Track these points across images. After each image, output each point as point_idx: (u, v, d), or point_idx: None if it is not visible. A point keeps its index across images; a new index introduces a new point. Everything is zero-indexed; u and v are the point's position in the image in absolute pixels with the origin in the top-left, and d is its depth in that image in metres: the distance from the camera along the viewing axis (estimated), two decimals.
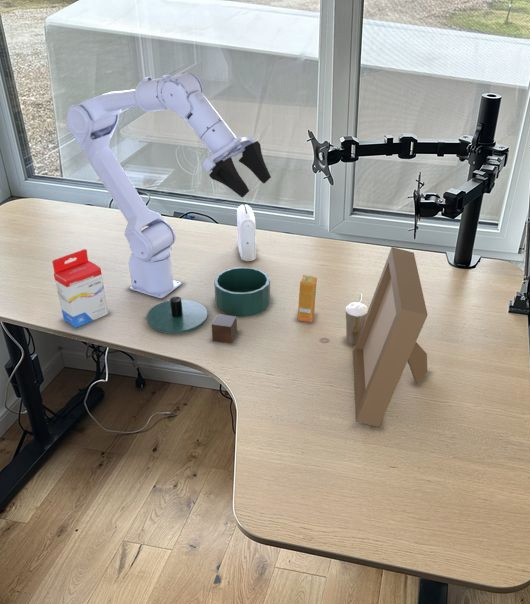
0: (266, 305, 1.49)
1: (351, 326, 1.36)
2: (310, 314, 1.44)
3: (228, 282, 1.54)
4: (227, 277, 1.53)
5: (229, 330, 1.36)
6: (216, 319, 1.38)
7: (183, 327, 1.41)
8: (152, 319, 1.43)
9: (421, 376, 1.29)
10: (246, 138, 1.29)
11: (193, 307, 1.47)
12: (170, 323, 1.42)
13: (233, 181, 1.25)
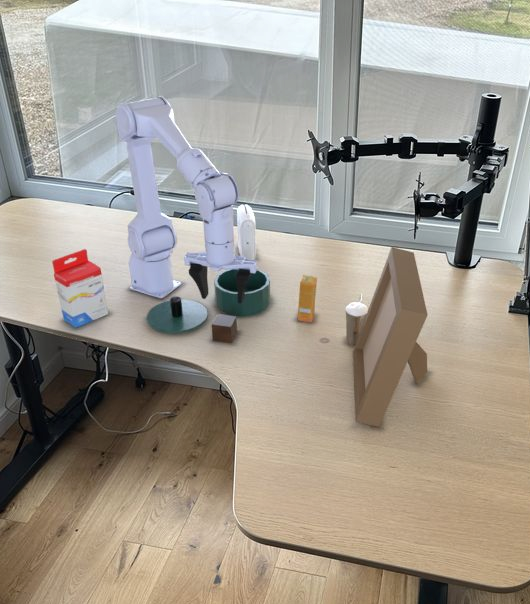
0: (266, 305, 1.49)
1: (351, 326, 1.36)
2: (310, 314, 1.44)
3: (228, 282, 1.54)
4: (227, 277, 1.53)
5: (229, 330, 1.36)
6: (216, 319, 1.38)
7: (183, 327, 1.41)
8: (152, 319, 1.43)
9: (421, 376, 1.29)
10: (242, 266, 1.28)
11: (193, 307, 1.47)
12: (170, 323, 1.42)
13: None
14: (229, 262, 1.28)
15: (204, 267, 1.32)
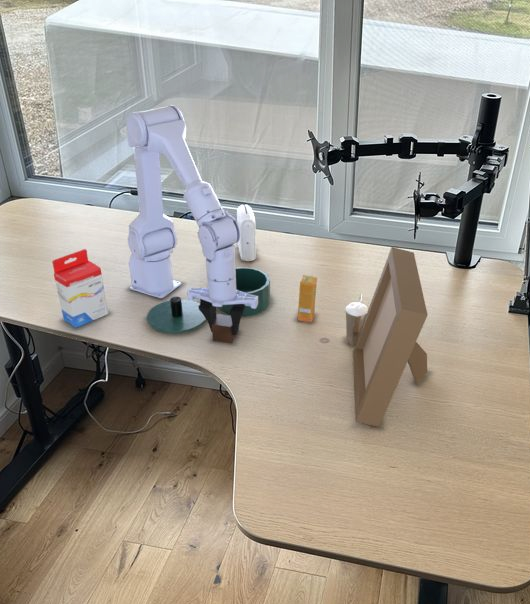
0: (266, 305, 1.49)
1: (351, 326, 1.36)
2: (310, 314, 1.44)
3: None
4: None
5: (229, 330, 1.36)
6: (216, 319, 1.38)
7: (183, 327, 1.41)
8: (152, 319, 1.43)
9: (421, 376, 1.29)
10: (243, 302, 1.32)
11: (193, 307, 1.47)
12: (170, 323, 1.42)
13: None
14: (230, 298, 1.32)
15: None
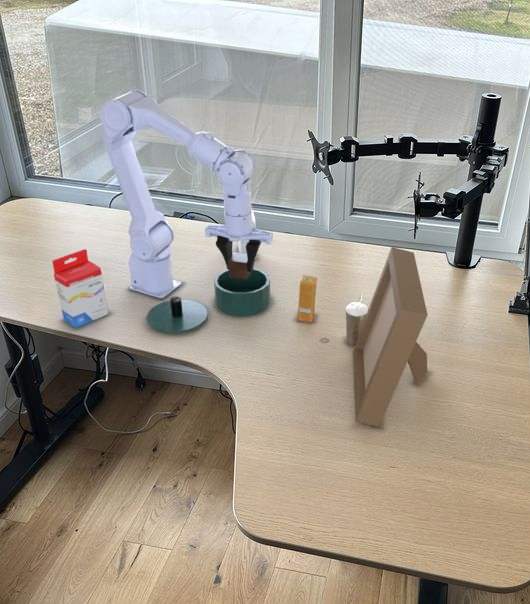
0: (266, 305, 1.49)
1: (351, 326, 1.36)
2: (310, 314, 1.44)
3: (228, 282, 1.54)
4: (227, 277, 1.53)
5: (245, 266, 1.43)
6: (232, 256, 1.44)
7: (183, 327, 1.41)
8: (152, 319, 1.43)
9: (421, 376, 1.29)
10: (259, 237, 1.39)
11: (193, 307, 1.47)
12: (170, 323, 1.42)
13: None
14: (246, 234, 1.38)
15: (230, 239, 1.43)
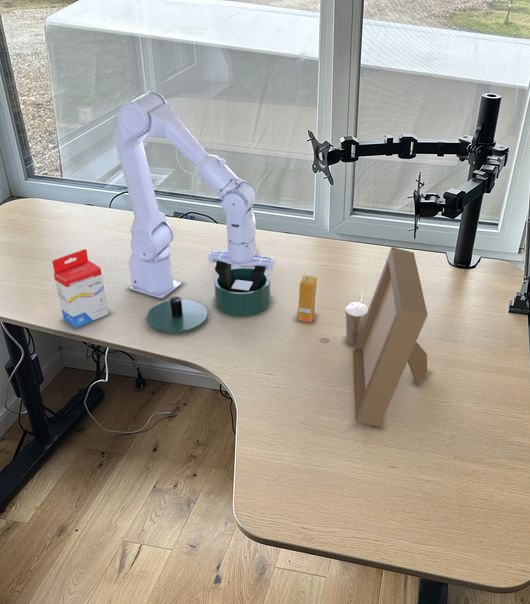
0: (266, 305, 1.49)
1: (351, 326, 1.36)
2: (310, 314, 1.44)
3: None
4: None
5: None
6: (235, 284, 1.49)
7: (183, 327, 1.41)
8: (152, 319, 1.43)
9: (421, 376, 1.29)
10: (260, 263, 1.43)
11: (193, 307, 1.47)
12: (170, 323, 1.42)
13: None
14: (248, 260, 1.43)
15: (228, 264, 1.48)
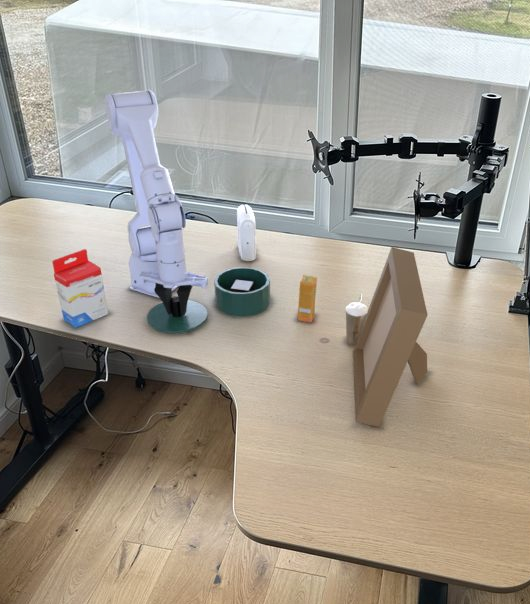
0: (266, 305, 1.49)
1: (351, 326, 1.36)
2: (310, 314, 1.44)
3: (228, 282, 1.54)
4: (227, 277, 1.53)
5: None
6: (235, 284, 1.49)
7: (183, 327, 1.41)
8: (152, 319, 1.43)
9: (421, 376, 1.29)
10: (194, 282, 1.38)
11: (193, 307, 1.47)
12: (170, 323, 1.42)
13: None
14: (181, 279, 1.38)
15: None
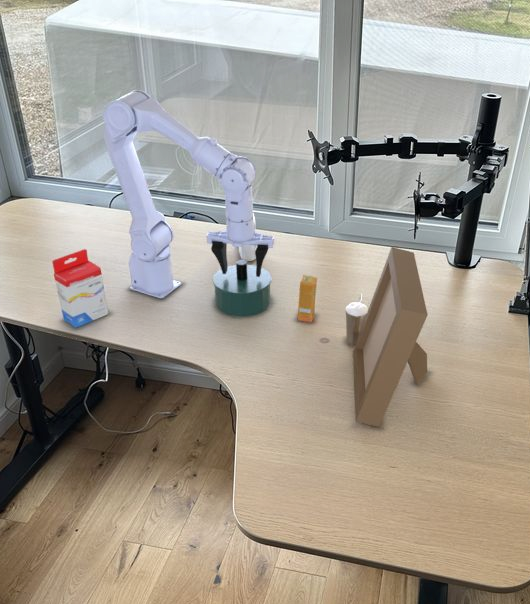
0: (266, 305, 1.49)
1: (351, 326, 1.36)
2: (310, 314, 1.44)
3: None
4: None
5: None
6: None
7: (250, 289, 1.44)
8: (218, 282, 1.46)
9: (421, 376, 1.29)
10: (261, 242, 1.41)
11: None
12: (236, 286, 1.45)
13: None
14: (249, 239, 1.41)
15: (224, 244, 1.45)
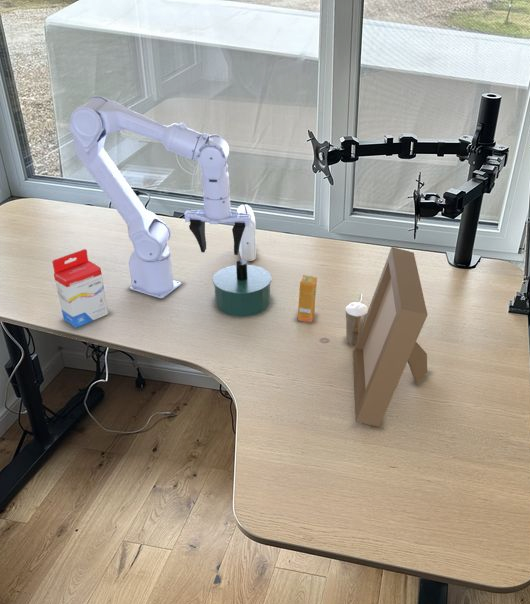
0: (266, 305, 1.49)
1: (351, 326, 1.36)
2: (310, 314, 1.44)
3: None
4: None
5: None
6: None
7: (250, 289, 1.44)
8: (218, 282, 1.46)
9: (421, 376, 1.29)
10: (238, 219, 1.43)
11: (256, 272, 1.51)
12: (236, 286, 1.45)
13: None
14: (226, 217, 1.43)
15: (202, 223, 1.47)
